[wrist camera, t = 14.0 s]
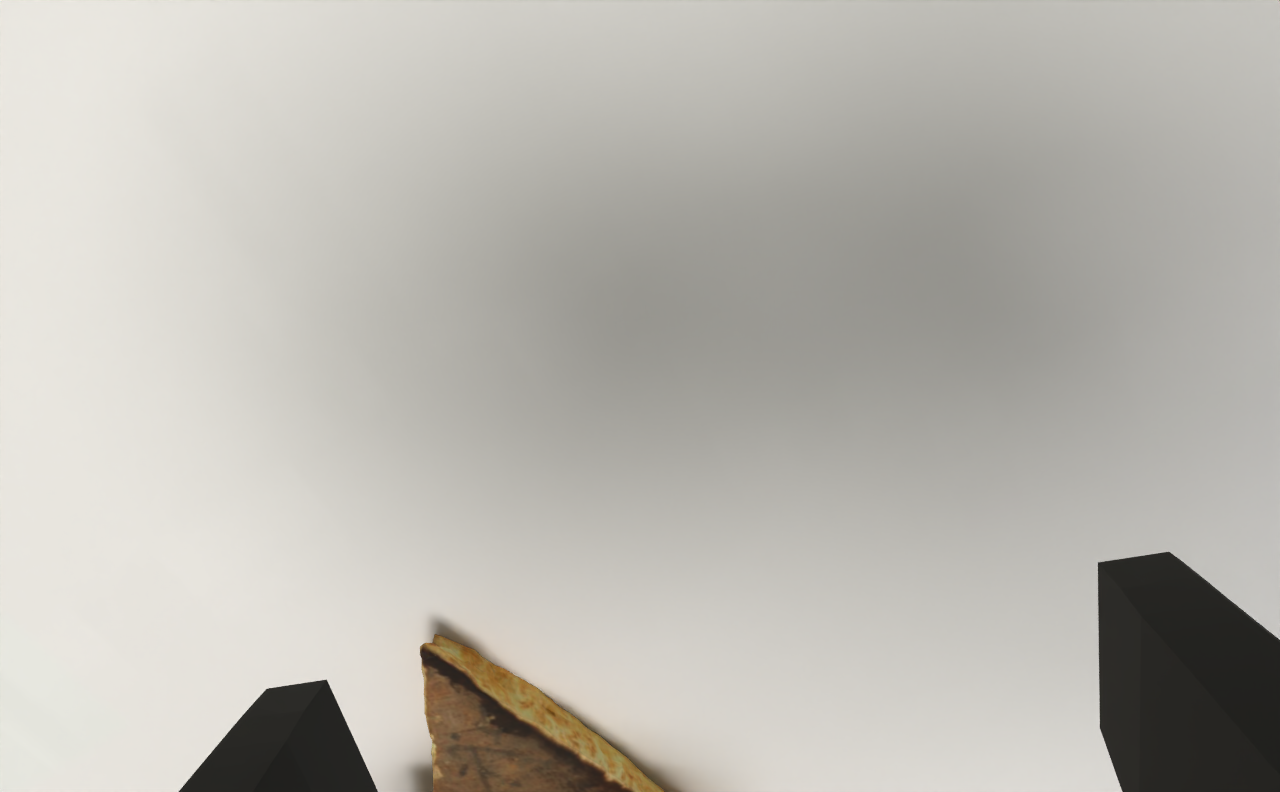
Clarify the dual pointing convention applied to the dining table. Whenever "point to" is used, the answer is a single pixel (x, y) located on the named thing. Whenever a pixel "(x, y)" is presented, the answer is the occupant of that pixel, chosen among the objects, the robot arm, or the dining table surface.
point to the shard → (510, 733)
